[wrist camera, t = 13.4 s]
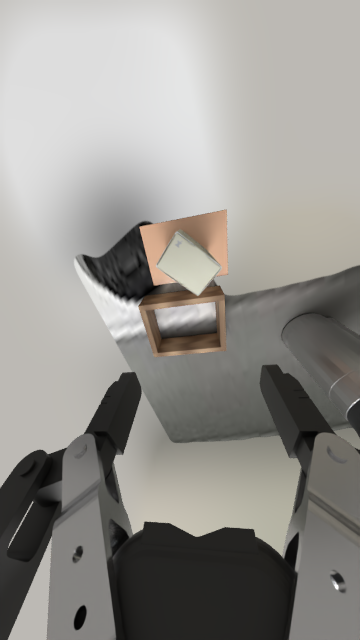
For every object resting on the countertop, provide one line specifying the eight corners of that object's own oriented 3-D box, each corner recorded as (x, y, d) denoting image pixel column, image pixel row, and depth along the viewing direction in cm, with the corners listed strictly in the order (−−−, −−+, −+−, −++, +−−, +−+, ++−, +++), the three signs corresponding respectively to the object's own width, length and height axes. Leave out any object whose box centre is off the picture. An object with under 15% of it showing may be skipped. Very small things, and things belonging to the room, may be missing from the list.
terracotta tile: (226, 209, 25) (226, 209, 25) (227, 274, 30) (227, 274, 30) (140, 226, 27) (139, 226, 26) (154, 284, 32) (154, 285, 31)
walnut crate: (219, 285, 31) (224, 294, 27) (221, 336, 37) (226, 350, 33) (145, 296, 33) (138, 306, 29) (158, 342, 39) (154, 357, 34)
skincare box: (165, 251, 28) (151, 265, 18) (180, 227, 26) (174, 227, 16) (195, 273, 30) (198, 298, 19) (210, 252, 28) (223, 267, 17)
